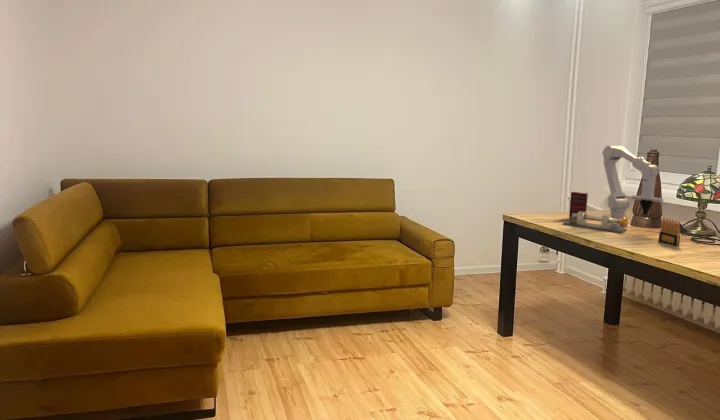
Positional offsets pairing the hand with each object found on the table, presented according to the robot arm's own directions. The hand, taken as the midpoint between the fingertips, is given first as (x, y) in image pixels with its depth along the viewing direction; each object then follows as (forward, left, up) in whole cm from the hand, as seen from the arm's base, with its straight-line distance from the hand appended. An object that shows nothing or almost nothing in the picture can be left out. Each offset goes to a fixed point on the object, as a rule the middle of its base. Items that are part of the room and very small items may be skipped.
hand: (645, 214), depth 283 cm
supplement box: (-10, -39, -10) cm, 41 cm away
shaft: (+6, -21, -7) cm, 23 cm away
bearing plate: (+6, -23, -9) cm, 25 cm away
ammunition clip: (+19, +17, -10) cm, 27 cm away
